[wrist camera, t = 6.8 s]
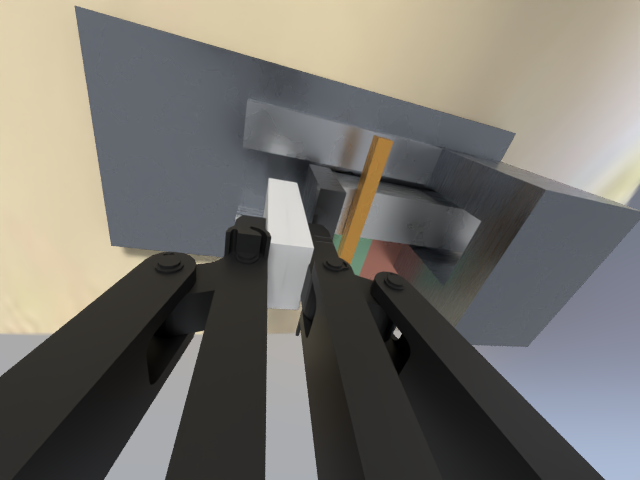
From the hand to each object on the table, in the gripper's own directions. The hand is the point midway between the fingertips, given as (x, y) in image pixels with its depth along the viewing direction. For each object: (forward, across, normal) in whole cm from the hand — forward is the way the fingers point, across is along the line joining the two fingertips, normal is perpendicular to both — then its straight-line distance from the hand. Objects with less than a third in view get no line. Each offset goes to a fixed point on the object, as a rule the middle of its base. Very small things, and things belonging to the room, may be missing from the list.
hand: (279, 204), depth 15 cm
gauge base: (+5, +3, 0) cm, 6 cm away
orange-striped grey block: (+3, +8, 0) cm, 9 cm away
